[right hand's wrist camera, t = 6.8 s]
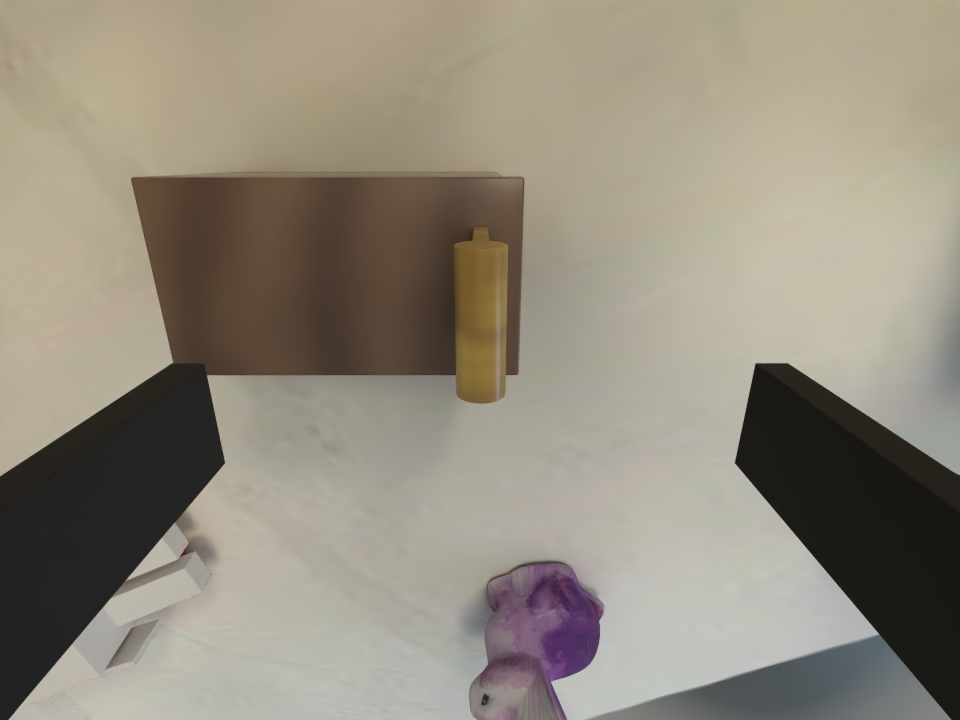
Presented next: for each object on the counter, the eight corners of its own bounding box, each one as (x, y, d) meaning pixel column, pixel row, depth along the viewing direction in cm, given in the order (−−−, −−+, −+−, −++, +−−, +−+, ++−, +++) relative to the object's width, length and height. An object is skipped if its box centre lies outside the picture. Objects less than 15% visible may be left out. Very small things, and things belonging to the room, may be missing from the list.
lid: (522, 176, 25) (544, 184, 17) (517, 366, 29) (532, 451, 20) (145, 176, 25) (-21, 184, 17) (187, 367, 29) (68, 451, 20)
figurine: (460, 600, 49) (453, 774, 35) (536, 537, 47) (561, 698, 33) (530, 649, 52) (549, 830, 38) (606, 592, 49) (657, 764, 35)
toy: (198, 662, 39) (-168, 812, 39) (250, 547, 52) (-27, 661, 52) (103, 541, 35) (-307, 708, 35) (184, 449, 48) (-116, 571, 48)
